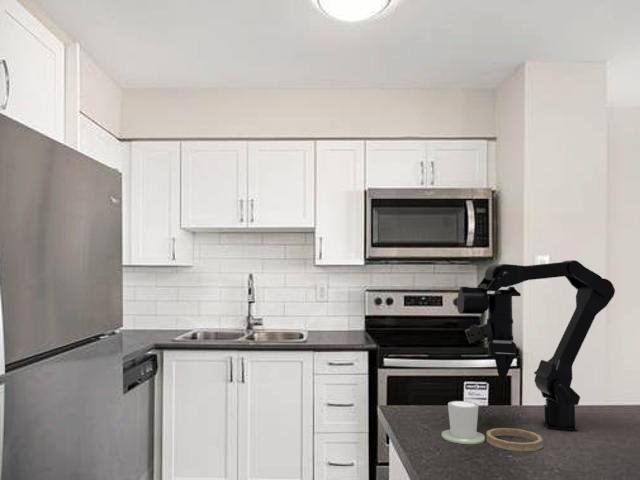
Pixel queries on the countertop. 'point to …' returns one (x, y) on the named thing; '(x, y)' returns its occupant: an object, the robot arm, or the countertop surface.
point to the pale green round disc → (450, 438)
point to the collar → (514, 445)
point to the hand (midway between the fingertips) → (501, 377)
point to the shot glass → (463, 419)
